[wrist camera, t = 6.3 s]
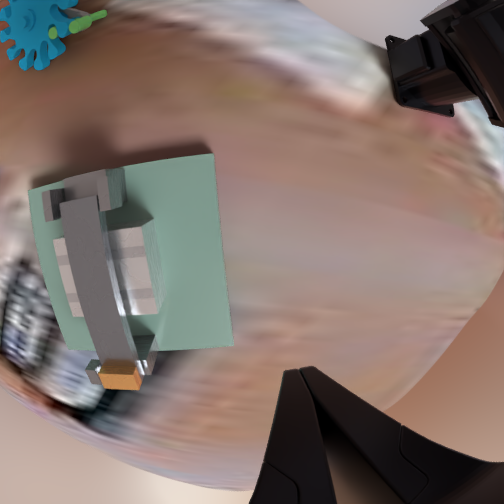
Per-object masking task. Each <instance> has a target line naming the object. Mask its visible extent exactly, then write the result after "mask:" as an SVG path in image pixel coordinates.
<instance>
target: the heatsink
mask: <svg viewBox="0 0 504 504" xmlns="http://www.w3.org/2000/svg"><path fill="white" fill-rule="evenodd" d="M107 229H108V235H109V241H110V247H111V253H112V258H113V263H114V268H115V272H116V277H117V281H118V286H119V290H120V294H121V298H122V302H123V306H124V310H125V314H126V315H145V314H158V313H159V310H160V308H161V306H162V303H163V301H164V299H165V297H166V295H167V293H166V288H165V283H164V277H163V272H162V266H161V260H160V254H159V248H158V242H157V235H156V228H155V221H154V219H147V220H139V221H132V222H125V223H118V224H111V225H107ZM53 243H54V248H55V253H56V258H57V262H58V266H59V270H60V274H61V278H62V282H63V285H64V289H65V292H66V296H67V299H68V303H69V305H70V309H71V312H72V315H73V317H84V315H83V312H82V309H81V305H80V302H79V298H78V295H77V291H76V287H75V284H74V280H73V276H72V272H71V267H70V263H69V258H68V254H67V249H66V243H65V238H64V235H62V236H60V237H58V238H56V239H54V240H53Z"/></svg>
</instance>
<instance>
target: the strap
mask: <svg viewBox="0 0 504 504" xmlns="http://www.w3.org/2000/svg"><path fill="white" fill-rule="evenodd" d="M59 205H60V213H61V220H62V226H63V232H64V238H65V243H66V249H67V254H68V258H69V263H70V267H71V272H72V276H73V280H74V284H75V287H76V291H77V295H78V298H79V302H80V305H81V309H82V312H83V315H84V318H85V321H86V324H87V327H88V330H89V333H90V336H91V339H92V341H93V344H94V347H95V349H96V352H97V355H98V357H99V360H100V362H101V364H102V367H101V369H100V370H99V372H98V375H99V377H100V379H101V382H102V384H103V386H104V388H109V389H125V390H139V389H140V386H141V383H142V380H143V377H144V371H143V368H142V365H141V362H140V359H139V356H138V353H137V350H136V347H135V344H134V341H133V338H132V334H131V331H130V328H129V324H128V321H127V317H126V314H125V310H124V306H123V302H122V298H121V294H120V290H119V286H118V281H117V277H116V272H115V268H114V263H113V258H112V253H111V247H110V241H109V235H108V229H107V223H106V216H105V211H102V212H100V206H99V199H98V195H95V196H90V197H86V198H81V199H76V200H72V201H67V202H63V203H59Z"/></svg>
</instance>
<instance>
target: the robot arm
mask: <svg viewBox="0 0 504 504" xmlns="http://www.w3.org/2000/svg"><path fill="white" fill-rule="evenodd" d="M420 21H421V22H422V23H423V24H424V25H425V26H427V27H428V28H429V30H427V31H426V32H424V33H422V34H420V35H415V36H413V37H411V38H410V39H408V40H404V39H401V38H398V37H394V36H391V35H389V36H387V37H386V38H385V42H386V46H387V50H388V55H389V60H390V64H391V69H392V74H393V79H394V84H395V90H396V96H397V101H398V103H399V105H400V106H402V107H406V108H411V109H416V110H421V111H425V112H429V113H434V114H438V115H442V116H445V117H453V116H454V107H453V104H454V103H459V102H465V101H470V100H476V99H480V101H481V103H482V105H483V107H484V108H485V110H486V112H487V114H488V116H489V117H488V118H489V120H490V122H491V124H492V125H496V126H500V127H503V128H504V0H447V1H445V2H444V3H442V4H441V5H439V6H438V7H437V8H435V9H434V10H433V11H432V12H430V13H429V14H428V15H426V16H425V17H424V18H423V19H421V20H420ZM390 40H391V41H392V42H391V41H390ZM402 98H403V99H404V101H405V103H404V102H403V100H402ZM449 111H450V112H449ZM249 504H504V462H489V461H484V460H480V459H477V458H475V457H472V456H469V455H466V454H463V453H460V452H458V451H455V450H453V449H450V448H447V447H445V446H443V445H441V444H438V443H436V442H434V441H431V440H429V439H427V438H426V437H424V436H422V435H420V434H418V433H416V432H414V431H412V430H411V429H409V428H408V427H406V426H404V425H402V426H401V423H399V422H397V421H396V420H394V419H393V418H391V417H389V416H388V415H386V414H385V413H383V412H381V411H380V410H378V409H377V408H375V407H374V406H372V405H370V404H369V403H367V402H366V401H364V400H363V399H361V398H360V397H358V396H357V395H355V394H354V393H352V392H351V391H349V390H348V389H346V388H345V387H343V386H342V385H340V384H339V383H337V382H336V381H334V380H333V379H331V378H330V377H329V376H327V375H326V374H324V373H323V372H321V371H320V370H318V369H317V368H316V367H314V366H308V367H302V368H300V369H299V370H298V369H290V370H285V371H284V372H283V377H282V382H281V387H280V392H279V396H278V401H277V405H276V410H275V414H274V419H273V423H272V427H271V432H270V436H269V440H268V444H267V448H266V452H265V456H264V460H263V463H262V467H261V470H260V474H259V477H258V480H257V484H256V487H255V490H254V492H253V495H252V497H251V499H250V501H249Z"/></svg>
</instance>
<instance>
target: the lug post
mask: <svg viewBox="0 0 504 504" xmlns="http://www.w3.org/2000/svg"><path fill="white" fill-rule="evenodd" d="M132 338H133V341H134V344H135V347H136V350H137V353H138V356H139V359H140V362H141V365H142V368H143V371H144V375H151V373H152V370H153V367H154V363H155V360H156V357H157V354H158V351H159V345H158V342H157V338H156V335H135V336H132ZM101 367H102V364H101V362H100V360H94V359H91V361H90V363H89V364H88V366H87V368H86V369H85V371H86V373H87V375H88V377H89V379H90V381H91V383H92V384H99V385H102V382H101V379H100V377H99V375H98V372H99V370H100V369H101Z"/></svg>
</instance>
